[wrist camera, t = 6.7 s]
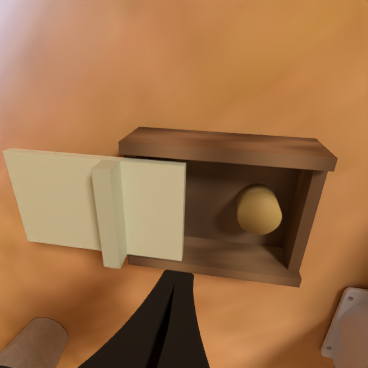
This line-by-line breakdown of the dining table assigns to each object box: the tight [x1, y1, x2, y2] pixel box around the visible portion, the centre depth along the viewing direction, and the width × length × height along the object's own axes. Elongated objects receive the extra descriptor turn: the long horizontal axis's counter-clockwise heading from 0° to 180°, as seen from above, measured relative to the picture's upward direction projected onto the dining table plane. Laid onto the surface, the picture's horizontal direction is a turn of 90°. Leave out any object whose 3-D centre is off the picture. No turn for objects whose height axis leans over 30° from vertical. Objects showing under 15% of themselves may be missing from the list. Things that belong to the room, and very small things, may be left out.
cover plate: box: [3, 148, 186, 269], centre depth 18 cm, size 13×8×2 cm, turn 88°
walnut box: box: [119, 127, 338, 287], centre depth 20 cm, size 13×10×4 cm
